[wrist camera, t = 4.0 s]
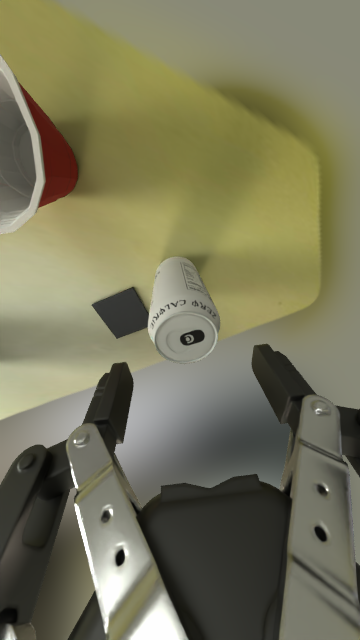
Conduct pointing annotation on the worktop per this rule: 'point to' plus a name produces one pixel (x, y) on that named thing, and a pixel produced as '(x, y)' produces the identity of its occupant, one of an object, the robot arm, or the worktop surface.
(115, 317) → the coaster
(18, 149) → the plastic cup
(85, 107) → the worktop surface
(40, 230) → the worktop surface
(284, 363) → the robot arm
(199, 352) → the energy drink can
